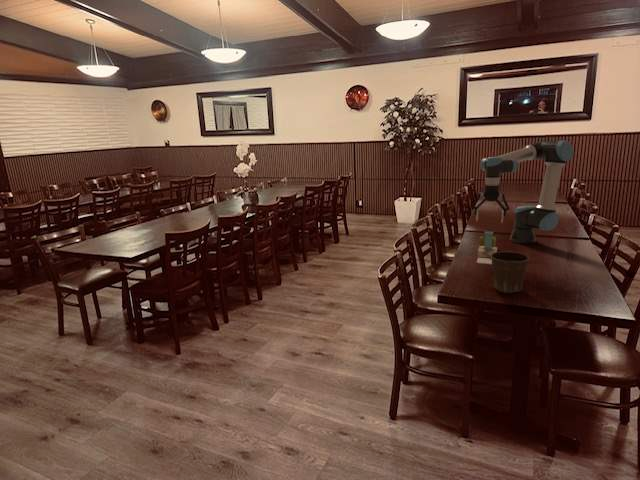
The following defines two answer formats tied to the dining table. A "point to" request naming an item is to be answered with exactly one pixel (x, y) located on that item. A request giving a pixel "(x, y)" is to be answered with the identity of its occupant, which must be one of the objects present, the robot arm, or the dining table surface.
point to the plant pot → (508, 271)
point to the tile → (484, 261)
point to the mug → (482, 241)
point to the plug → (488, 240)
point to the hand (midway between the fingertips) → (489, 221)
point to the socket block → (486, 252)
